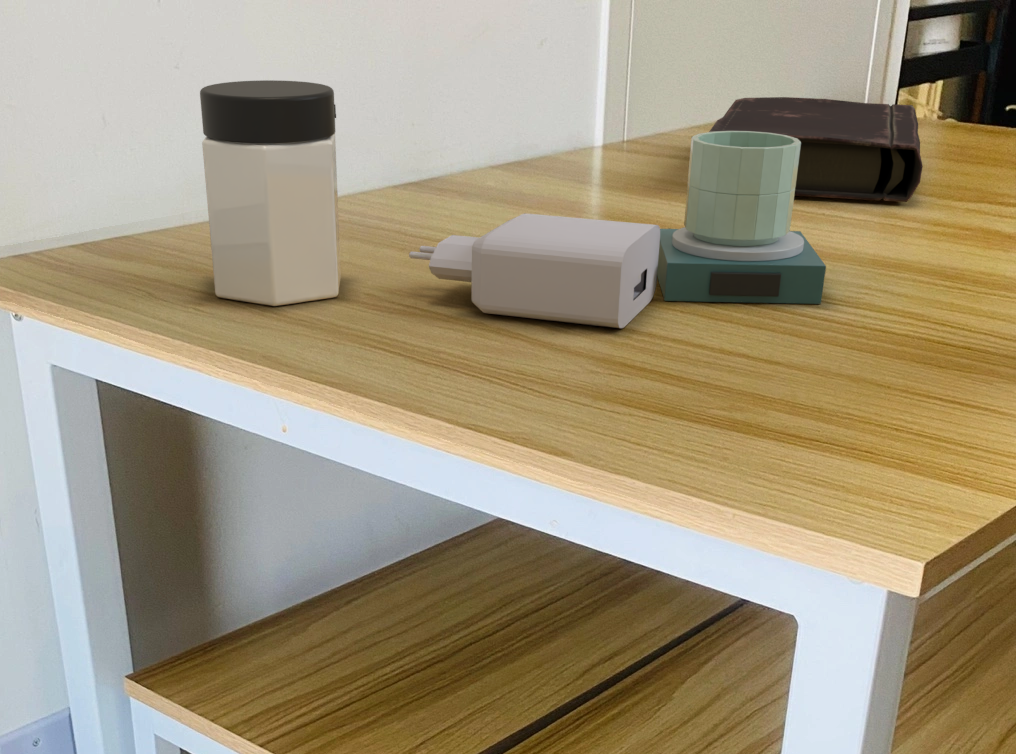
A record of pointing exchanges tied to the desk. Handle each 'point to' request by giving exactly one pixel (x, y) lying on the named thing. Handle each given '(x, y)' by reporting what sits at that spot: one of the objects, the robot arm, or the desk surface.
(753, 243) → the cup
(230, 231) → the jar
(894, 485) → the desk surface
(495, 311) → the charger
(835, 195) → the diary
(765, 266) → the scale
